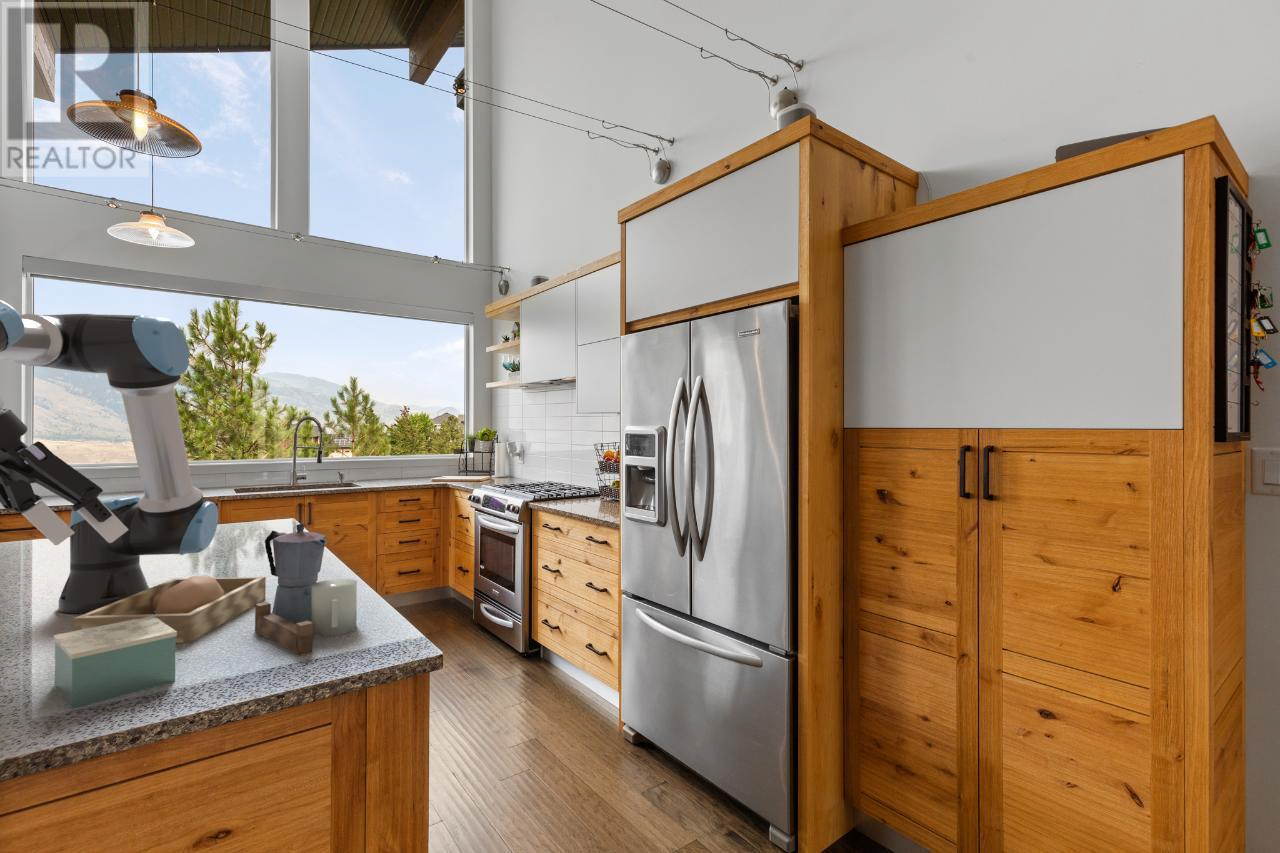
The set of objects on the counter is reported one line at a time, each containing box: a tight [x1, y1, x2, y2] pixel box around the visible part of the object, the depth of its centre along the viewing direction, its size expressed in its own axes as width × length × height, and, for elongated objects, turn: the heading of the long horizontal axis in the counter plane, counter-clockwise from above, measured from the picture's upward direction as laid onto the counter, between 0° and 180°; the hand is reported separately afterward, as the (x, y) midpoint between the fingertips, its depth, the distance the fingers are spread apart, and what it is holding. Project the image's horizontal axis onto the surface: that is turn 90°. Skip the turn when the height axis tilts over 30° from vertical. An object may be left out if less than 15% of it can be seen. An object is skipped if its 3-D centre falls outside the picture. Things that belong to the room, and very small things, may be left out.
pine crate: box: [73, 576, 267, 644], centre depth 125 cm, size 28×19×5 cm
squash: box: [151, 574, 224, 614], centre depth 125 cm, size 11×20×9 cm, turn 59°
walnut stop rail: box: [254, 601, 314, 656], centre depth 113 cm, size 20×2×5 cm, turn 52°
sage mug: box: [311, 578, 358, 637], centre depth 119 cm, size 10×8×9 cm
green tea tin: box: [53, 616, 177, 710], centre depth 95 cm, size 12×12×8 cm
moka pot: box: [264, 523, 328, 624], centre depth 125 cm, size 10×15×20 cm, turn 78°
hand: (91, 537), depth 92 cm, fingers open, 13 cm apart
